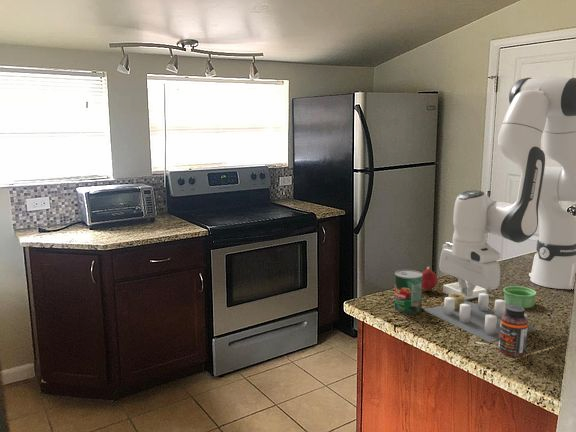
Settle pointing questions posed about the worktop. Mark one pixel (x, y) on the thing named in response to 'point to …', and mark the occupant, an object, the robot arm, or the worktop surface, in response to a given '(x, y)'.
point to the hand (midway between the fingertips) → (466, 294)
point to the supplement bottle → (513, 331)
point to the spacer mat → (474, 316)
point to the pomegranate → (428, 279)
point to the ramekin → (519, 296)
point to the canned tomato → (408, 291)
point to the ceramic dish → (457, 290)
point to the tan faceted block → (457, 300)
